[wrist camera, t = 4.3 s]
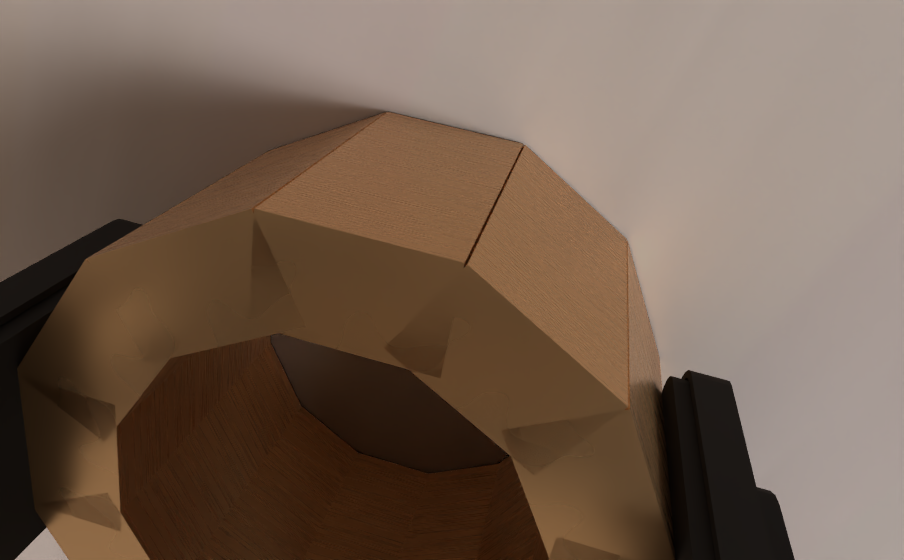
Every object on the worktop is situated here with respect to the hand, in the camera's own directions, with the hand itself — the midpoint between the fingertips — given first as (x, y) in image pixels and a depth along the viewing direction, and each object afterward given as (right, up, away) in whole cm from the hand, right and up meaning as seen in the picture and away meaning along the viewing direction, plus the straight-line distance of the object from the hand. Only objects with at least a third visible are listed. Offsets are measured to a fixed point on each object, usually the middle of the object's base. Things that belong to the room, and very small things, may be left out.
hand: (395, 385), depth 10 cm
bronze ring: (0, 0, +1) cm, 1 cm away
